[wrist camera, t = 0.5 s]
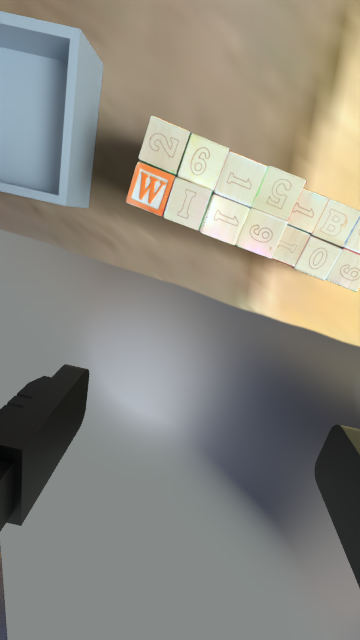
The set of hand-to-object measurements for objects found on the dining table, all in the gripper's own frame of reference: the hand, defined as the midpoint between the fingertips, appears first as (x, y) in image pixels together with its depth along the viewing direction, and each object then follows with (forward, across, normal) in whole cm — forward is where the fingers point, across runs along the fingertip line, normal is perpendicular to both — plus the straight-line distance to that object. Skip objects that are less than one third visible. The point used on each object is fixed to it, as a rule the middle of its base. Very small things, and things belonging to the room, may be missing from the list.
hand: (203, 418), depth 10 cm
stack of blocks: (+29, -3, -7) cm, 30 cm away
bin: (+28, +22, -11) cm, 37 cm away
